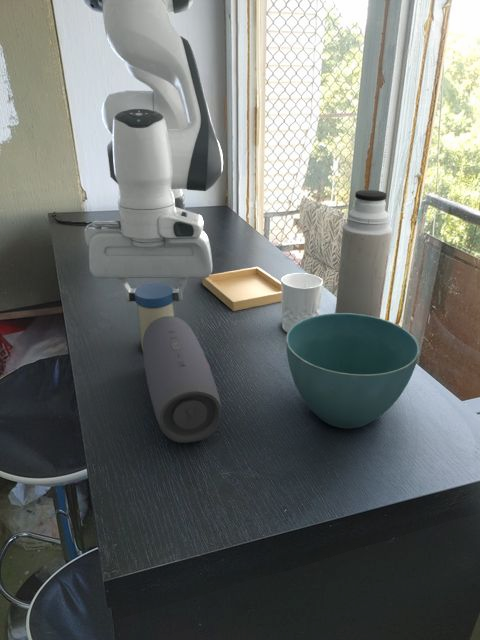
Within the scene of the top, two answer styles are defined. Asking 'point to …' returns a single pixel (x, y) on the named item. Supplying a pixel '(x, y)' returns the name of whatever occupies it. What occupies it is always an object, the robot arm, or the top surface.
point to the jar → (152, 316)
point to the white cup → (299, 298)
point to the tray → (244, 288)
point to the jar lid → (154, 295)
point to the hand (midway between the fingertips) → (155, 300)
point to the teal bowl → (350, 366)
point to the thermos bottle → (364, 255)
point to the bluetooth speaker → (180, 381)
